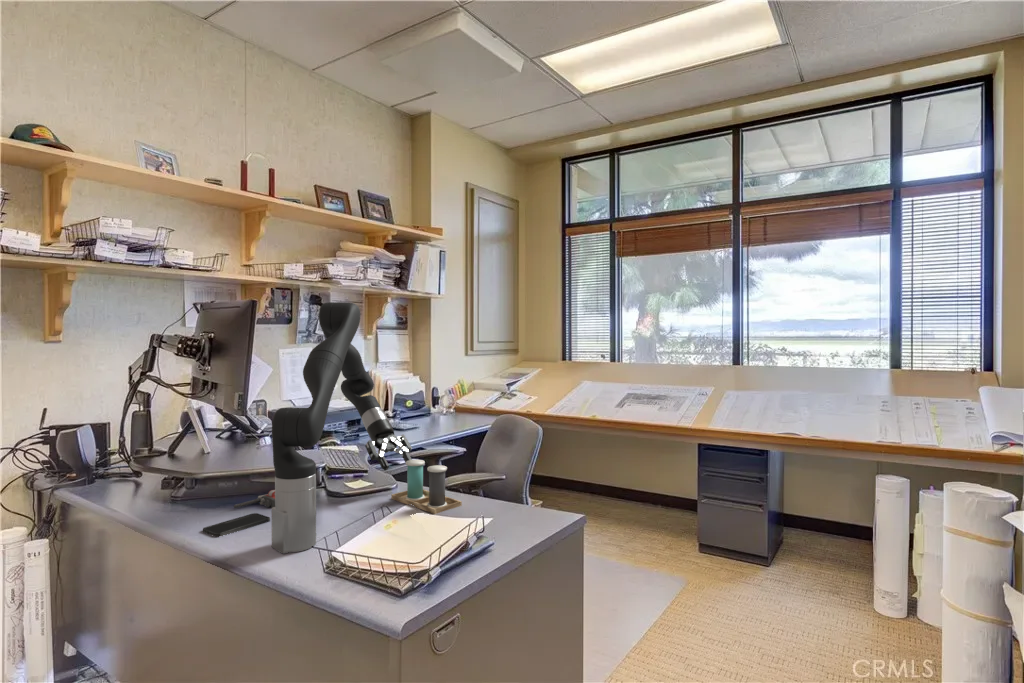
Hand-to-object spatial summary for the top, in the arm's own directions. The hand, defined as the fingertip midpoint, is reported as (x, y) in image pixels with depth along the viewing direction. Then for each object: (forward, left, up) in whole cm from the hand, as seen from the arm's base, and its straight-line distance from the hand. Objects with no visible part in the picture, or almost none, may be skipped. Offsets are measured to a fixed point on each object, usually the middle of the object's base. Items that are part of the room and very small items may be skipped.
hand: (398, 466), depth 175 cm
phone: (-44, +10, -10) cm, 47 cm away
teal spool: (0, -8, -8) cm, 12 cm away
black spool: (0, -19, -8) cm, 20 cm away
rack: (0, -14, -10) cm, 17 cm away
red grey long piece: (-29, +22, -10) cm, 38 cm away
